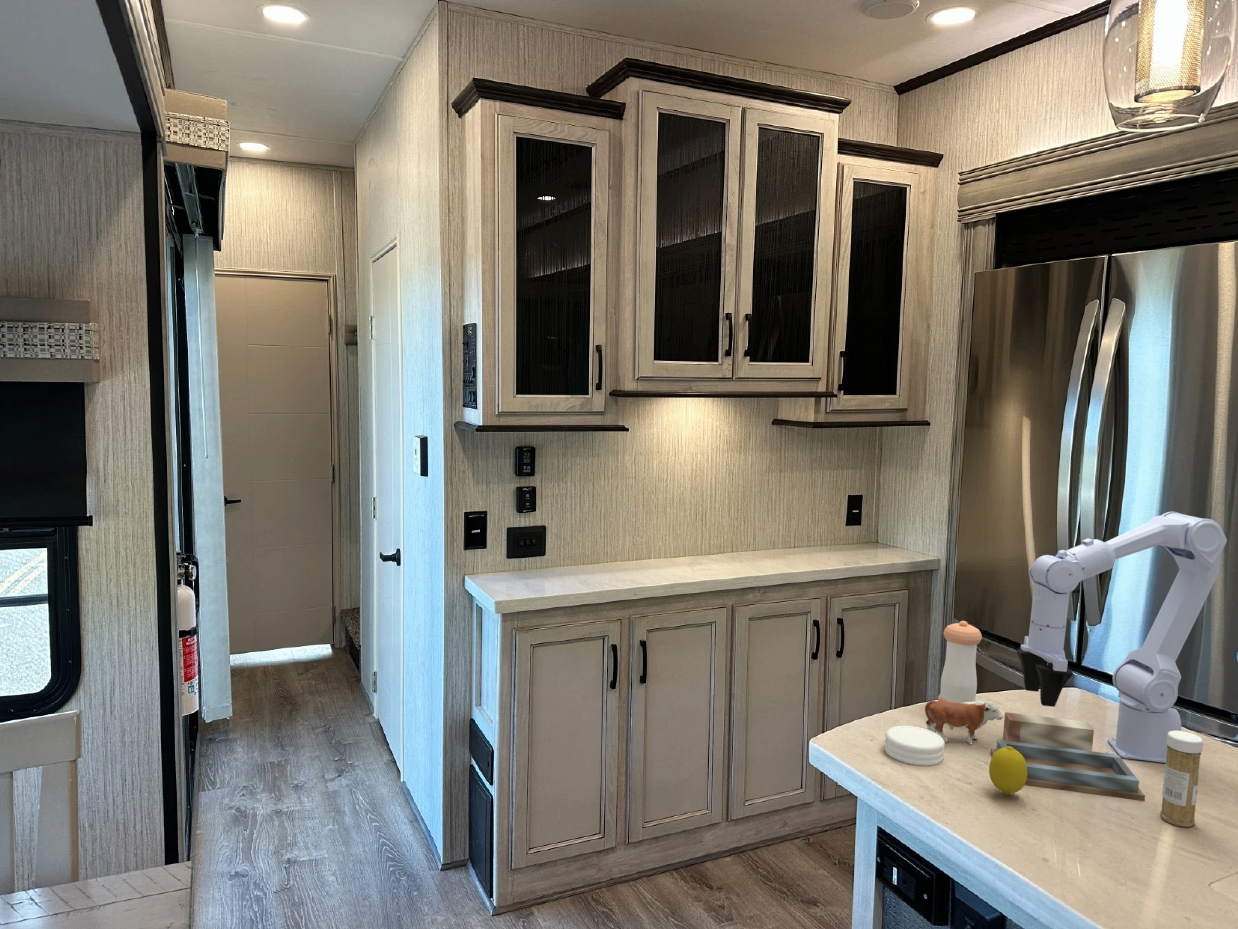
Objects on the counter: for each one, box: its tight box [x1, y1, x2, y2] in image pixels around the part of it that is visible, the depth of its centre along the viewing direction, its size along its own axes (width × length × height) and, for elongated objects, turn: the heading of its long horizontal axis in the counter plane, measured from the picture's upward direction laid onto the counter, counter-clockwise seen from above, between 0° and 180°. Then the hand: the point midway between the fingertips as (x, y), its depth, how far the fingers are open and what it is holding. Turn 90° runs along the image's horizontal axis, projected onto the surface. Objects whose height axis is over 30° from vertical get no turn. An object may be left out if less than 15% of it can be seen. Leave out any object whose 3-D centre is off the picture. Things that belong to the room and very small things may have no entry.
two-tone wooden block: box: [1002, 711, 1095, 751], centre depth 159 cm, size 14×4×5 cm, turn 76°
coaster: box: [884, 725, 946, 767], centre depth 154 cm, size 10×10×4 cm
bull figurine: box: [924, 700, 1004, 745], centre depth 160 cm, size 4×13×8 cm, turn 78°
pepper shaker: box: [937, 620, 983, 703], centre depth 172 cm, size 7×7×19 cm
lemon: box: [988, 746, 1027, 796], centre depth 139 cm, size 6×6×8 cm
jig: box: [990, 739, 1146, 802], centre depth 147 cm, size 21×12×3 cm, turn 76°
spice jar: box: [1159, 730, 1204, 827], centre depth 132 cm, size 5×5×13 cm
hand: (1039, 698), depth 156 cm, fingers open, 7 cm apart
